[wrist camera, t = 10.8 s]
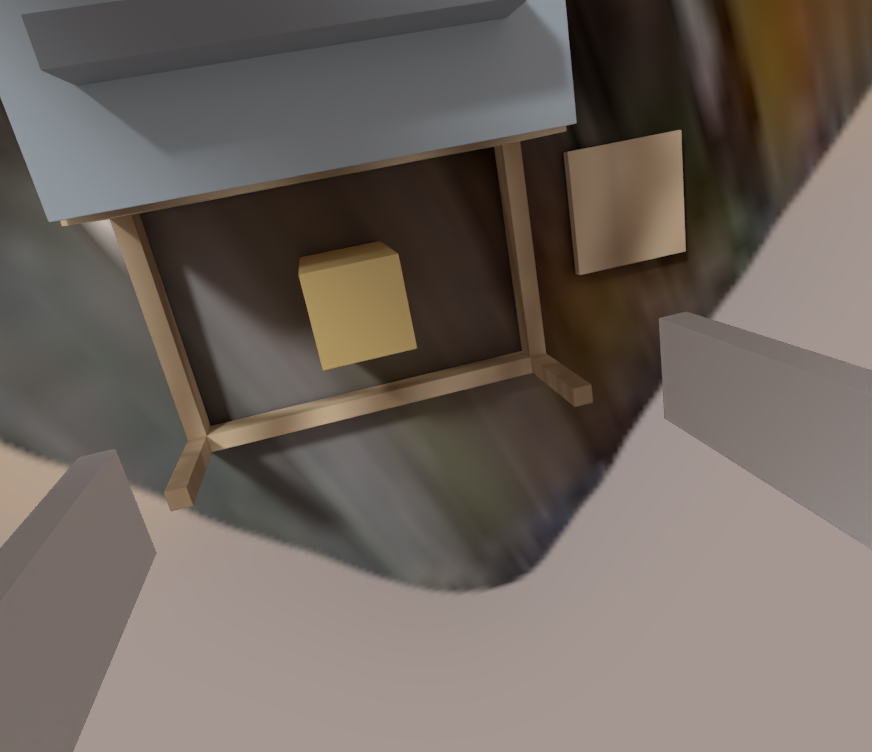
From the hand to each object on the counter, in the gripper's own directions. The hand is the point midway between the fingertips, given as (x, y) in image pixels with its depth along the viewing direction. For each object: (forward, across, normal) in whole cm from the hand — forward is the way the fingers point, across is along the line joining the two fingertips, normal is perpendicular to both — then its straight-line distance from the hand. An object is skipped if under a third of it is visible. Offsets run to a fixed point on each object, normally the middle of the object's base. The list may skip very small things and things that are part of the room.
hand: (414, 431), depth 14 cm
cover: (+13, 0, +13) cm, 19 cm away
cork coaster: (+21, +17, +2) cm, 27 cm away
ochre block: (+21, 0, 0) cm, 21 cm away
